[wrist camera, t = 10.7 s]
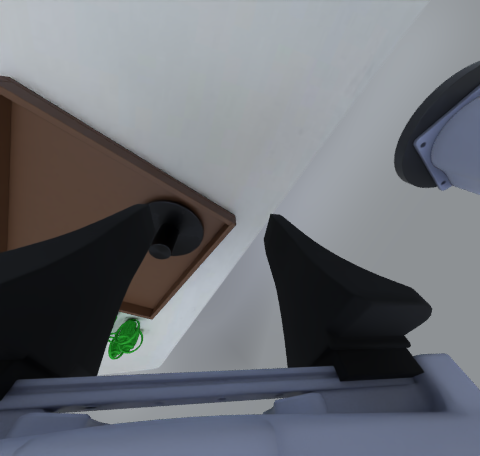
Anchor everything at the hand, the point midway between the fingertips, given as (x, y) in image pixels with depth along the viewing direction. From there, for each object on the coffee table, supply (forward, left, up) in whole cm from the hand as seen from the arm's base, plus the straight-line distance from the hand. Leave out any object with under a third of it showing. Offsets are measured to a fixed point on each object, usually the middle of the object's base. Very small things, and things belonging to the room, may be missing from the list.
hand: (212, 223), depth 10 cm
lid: (+1, +9, -8) cm, 12 cm away
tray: (+6, +16, -9) cm, 19 cm away
